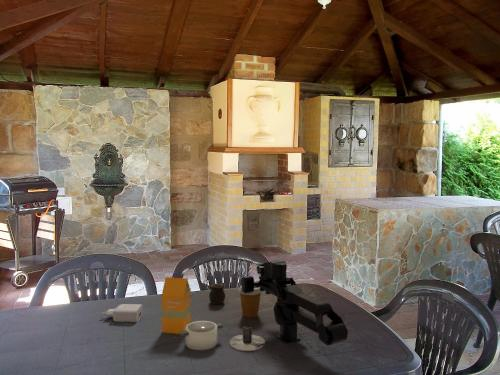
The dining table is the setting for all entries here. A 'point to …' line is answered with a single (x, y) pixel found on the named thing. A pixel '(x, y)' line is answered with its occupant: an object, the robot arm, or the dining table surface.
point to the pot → (201, 335)
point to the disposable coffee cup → (250, 302)
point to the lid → (247, 341)
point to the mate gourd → (217, 294)
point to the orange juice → (176, 305)
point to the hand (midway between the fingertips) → (252, 276)
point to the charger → (126, 313)
